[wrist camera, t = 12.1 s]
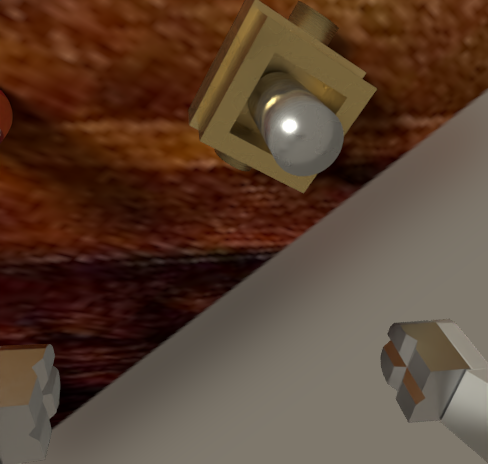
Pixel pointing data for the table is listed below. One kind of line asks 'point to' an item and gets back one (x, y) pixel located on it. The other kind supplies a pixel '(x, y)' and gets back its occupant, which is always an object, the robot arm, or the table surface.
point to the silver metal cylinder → (295, 125)
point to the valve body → (265, 62)
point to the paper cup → (5, 116)
